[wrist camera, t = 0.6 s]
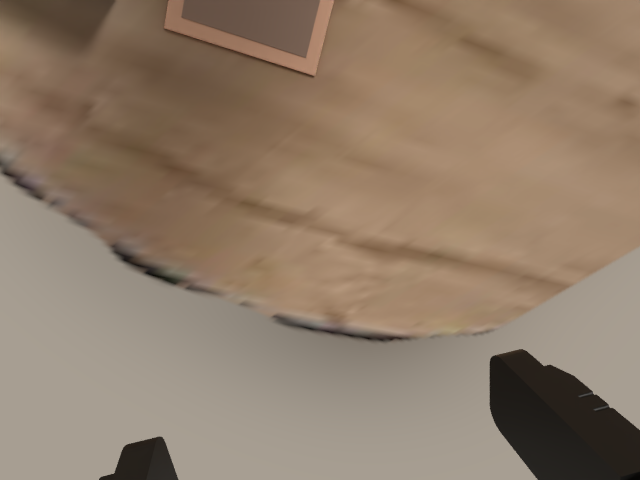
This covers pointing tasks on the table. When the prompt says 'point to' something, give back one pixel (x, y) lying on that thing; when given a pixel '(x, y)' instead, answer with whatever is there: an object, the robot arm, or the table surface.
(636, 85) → the table surface
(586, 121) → the table surface
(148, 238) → the table surface
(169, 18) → the pad
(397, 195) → the table surface
